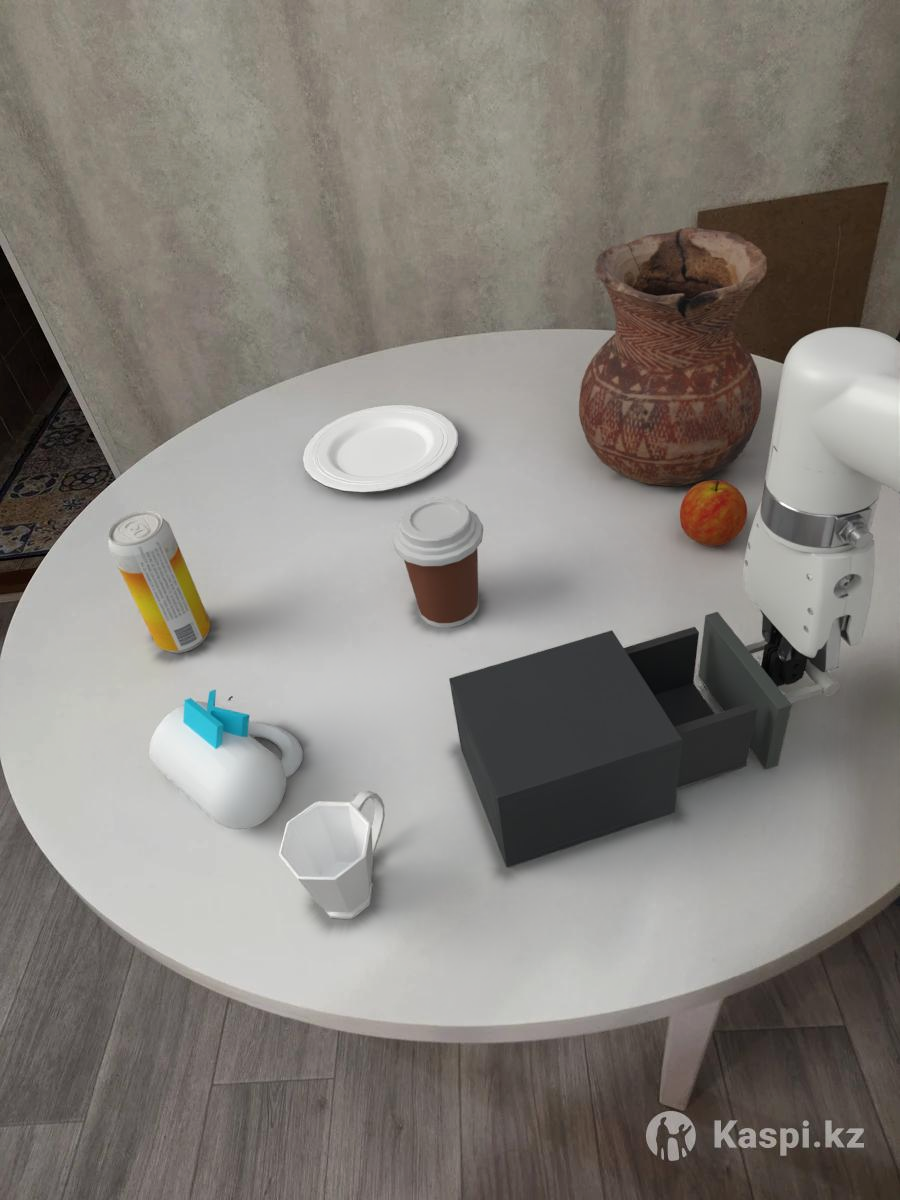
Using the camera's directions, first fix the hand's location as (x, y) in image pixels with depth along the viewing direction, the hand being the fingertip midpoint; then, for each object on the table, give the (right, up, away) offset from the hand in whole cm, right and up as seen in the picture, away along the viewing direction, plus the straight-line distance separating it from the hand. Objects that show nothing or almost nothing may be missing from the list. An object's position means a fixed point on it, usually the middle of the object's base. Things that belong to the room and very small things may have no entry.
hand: (780, 677), depth 74 cm
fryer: (-19, -9, 0) cm, 21 cm away
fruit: (0, +13, +22) cm, 25 cm away
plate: (-37, +26, +42) cm, 62 cm away
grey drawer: (-6, -5, +2) cm, 8 cm away
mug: (-46, -10, +4) cm, 47 cm away
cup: (-36, -16, -4) cm, 39 cm away
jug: (-1, +25, +34) cm, 42 cm away
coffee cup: (-28, +6, +18) cm, 34 cm away
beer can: (-57, +3, +20) cm, 60 cm away
